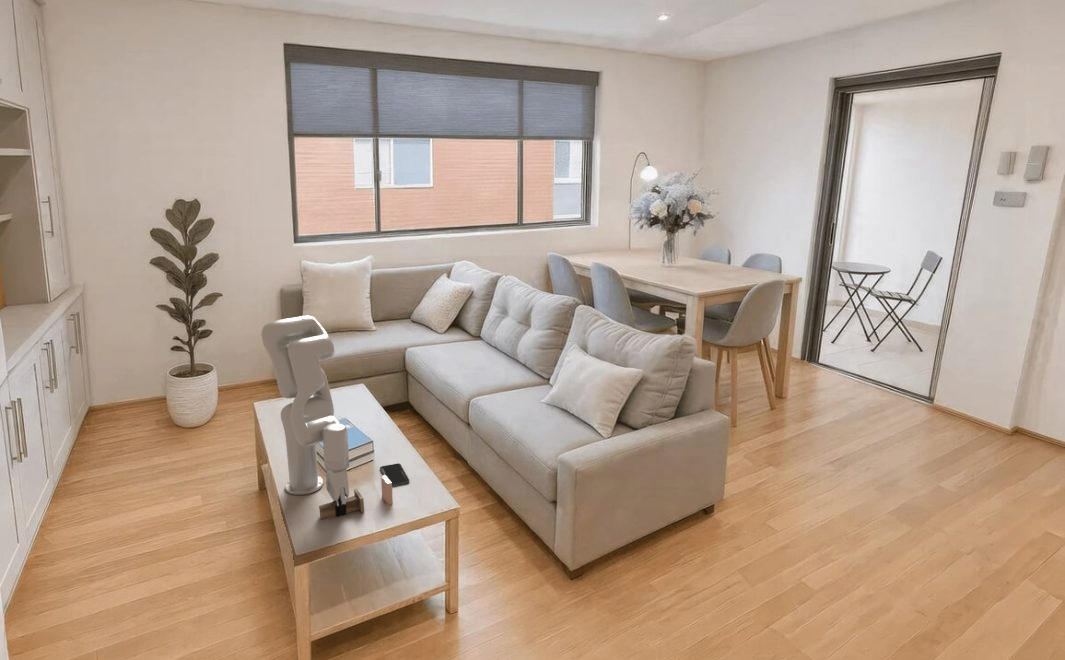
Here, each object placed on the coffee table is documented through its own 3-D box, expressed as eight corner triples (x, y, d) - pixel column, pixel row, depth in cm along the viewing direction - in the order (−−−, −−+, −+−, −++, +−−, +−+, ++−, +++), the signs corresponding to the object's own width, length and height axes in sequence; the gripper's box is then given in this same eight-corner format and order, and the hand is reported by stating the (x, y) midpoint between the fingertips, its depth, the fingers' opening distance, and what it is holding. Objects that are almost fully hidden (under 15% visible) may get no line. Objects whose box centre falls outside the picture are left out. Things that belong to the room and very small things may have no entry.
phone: (388, 485, 220) (379, 466, 233) (388, 488, 221) (379, 469, 234) (410, 481, 224) (400, 462, 237) (410, 484, 224) (400, 465, 237)
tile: (381, 497, 214) (381, 476, 212) (386, 495, 215) (386, 474, 213) (387, 505, 210) (387, 483, 207) (392, 504, 210) (392, 482, 208)
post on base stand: (318, 513, 204) (317, 499, 202) (357, 501, 211) (356, 488, 209) (324, 523, 198) (322, 510, 197) (364, 511, 205) (363, 498, 203)
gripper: (318, 454, 204) (321, 504, 209) (331, 475, 191) (334, 528, 196) (341, 449, 208) (344, 498, 213) (355, 469, 195) (358, 522, 200)
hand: (339, 512), depth 204 cm, fingers closed on post on base stand
